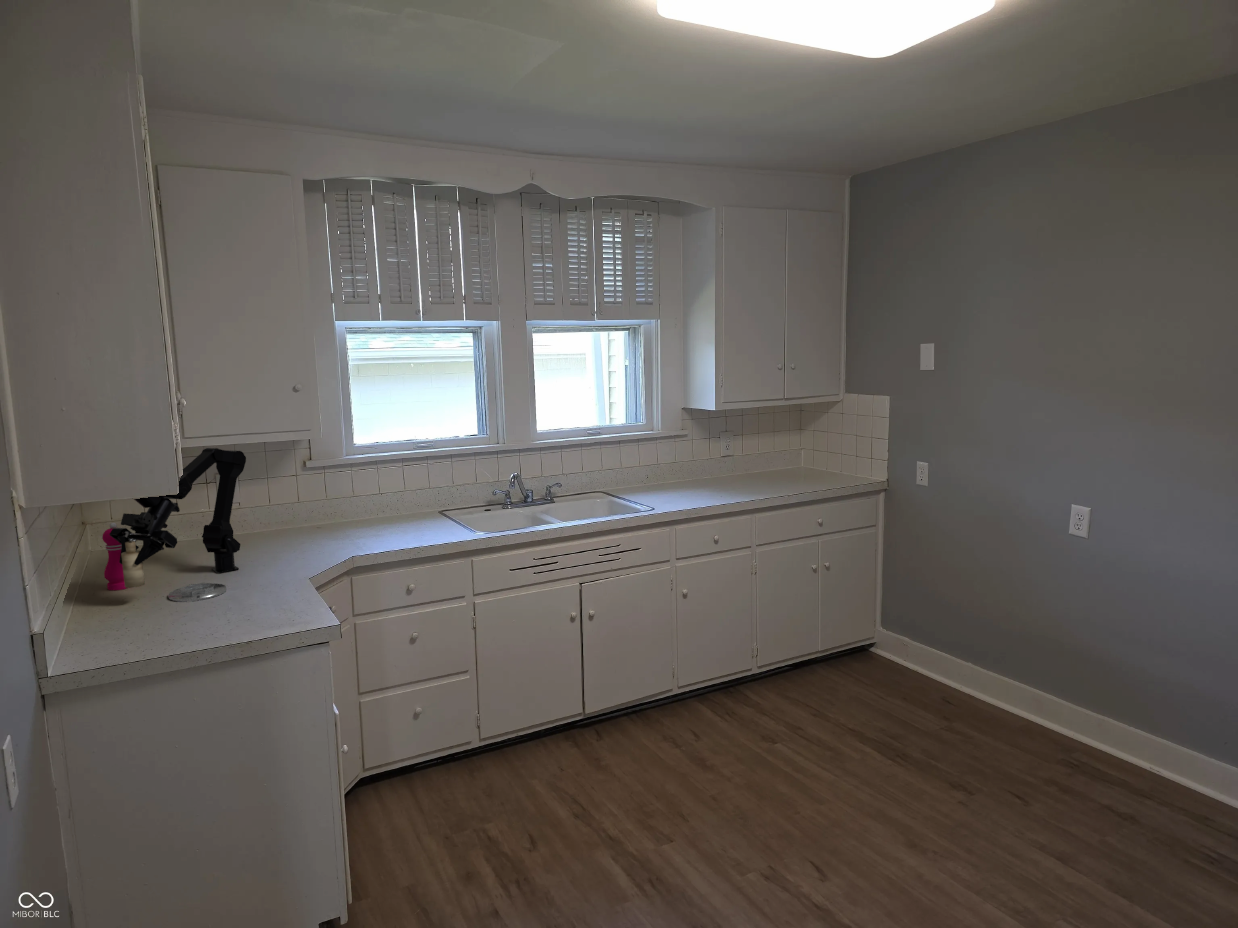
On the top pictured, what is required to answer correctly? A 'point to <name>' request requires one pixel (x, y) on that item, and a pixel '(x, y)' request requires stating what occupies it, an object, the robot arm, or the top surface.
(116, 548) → the pepper mill
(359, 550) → the top surface
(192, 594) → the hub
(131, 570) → the knob
